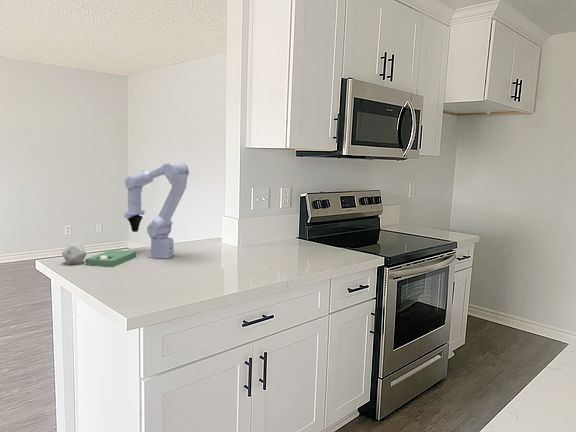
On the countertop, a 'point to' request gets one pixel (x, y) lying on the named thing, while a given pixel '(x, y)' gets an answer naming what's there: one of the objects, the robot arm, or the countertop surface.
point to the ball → (104, 257)
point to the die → (74, 253)
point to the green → (111, 258)
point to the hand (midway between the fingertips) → (135, 231)
